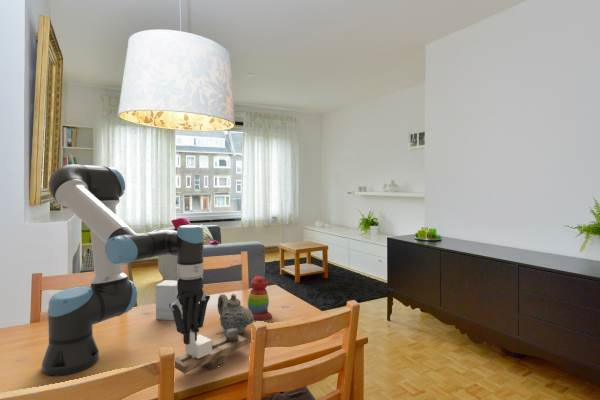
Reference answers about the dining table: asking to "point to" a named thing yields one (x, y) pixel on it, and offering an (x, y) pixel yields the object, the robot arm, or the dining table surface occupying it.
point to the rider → (202, 346)
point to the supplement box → (166, 299)
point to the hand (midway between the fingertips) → (190, 352)
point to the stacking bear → (259, 299)
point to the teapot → (233, 313)
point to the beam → (217, 355)
